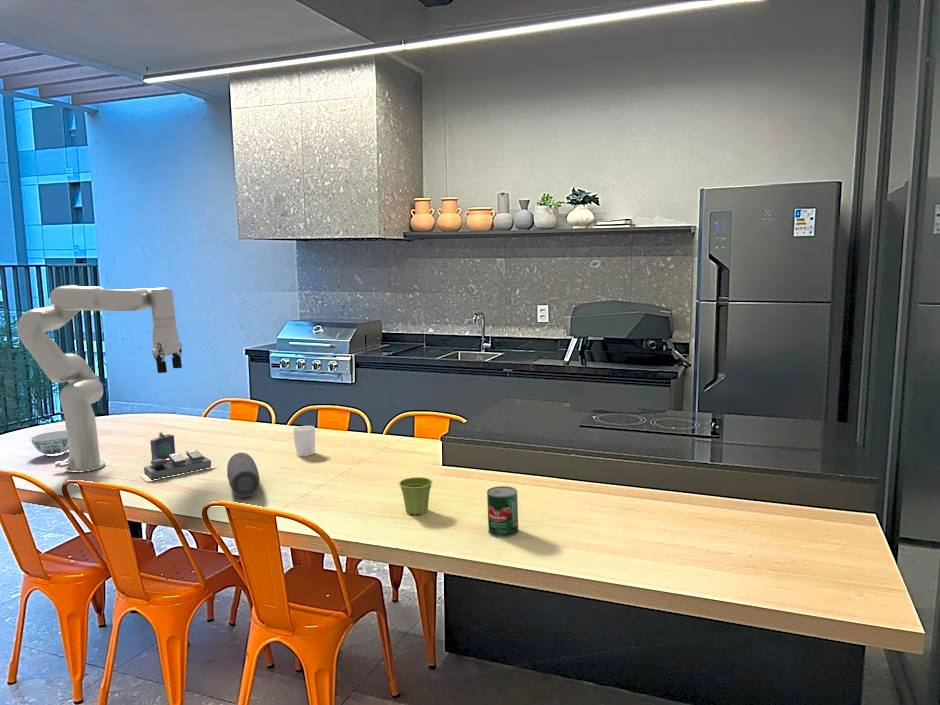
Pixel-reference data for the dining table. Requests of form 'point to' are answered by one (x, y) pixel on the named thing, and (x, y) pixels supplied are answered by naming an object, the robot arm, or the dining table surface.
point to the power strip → (176, 468)
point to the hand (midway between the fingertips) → (170, 370)
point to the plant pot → (416, 494)
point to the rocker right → (194, 455)
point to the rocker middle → (177, 458)
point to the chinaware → (51, 442)
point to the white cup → (304, 440)
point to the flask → (162, 446)
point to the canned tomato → (502, 511)
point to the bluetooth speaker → (243, 475)
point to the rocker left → (159, 462)
